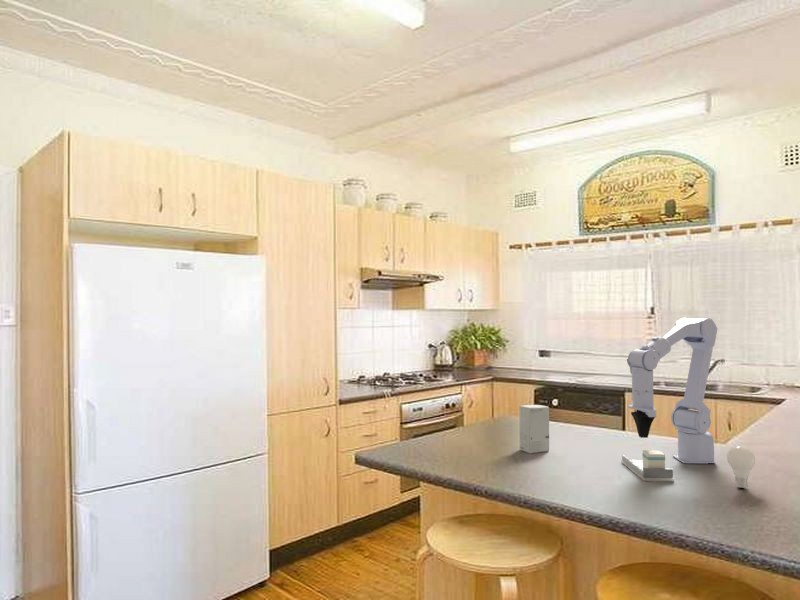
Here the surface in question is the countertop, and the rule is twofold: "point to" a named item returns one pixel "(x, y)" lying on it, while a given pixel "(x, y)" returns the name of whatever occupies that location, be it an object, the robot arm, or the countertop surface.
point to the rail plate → (648, 471)
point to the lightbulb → (741, 464)
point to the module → (653, 459)
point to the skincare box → (534, 428)
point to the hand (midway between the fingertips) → (643, 437)
